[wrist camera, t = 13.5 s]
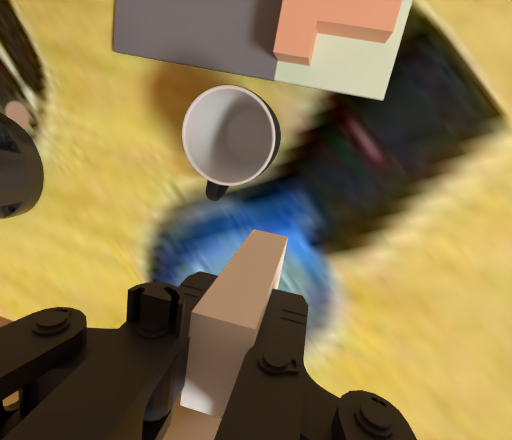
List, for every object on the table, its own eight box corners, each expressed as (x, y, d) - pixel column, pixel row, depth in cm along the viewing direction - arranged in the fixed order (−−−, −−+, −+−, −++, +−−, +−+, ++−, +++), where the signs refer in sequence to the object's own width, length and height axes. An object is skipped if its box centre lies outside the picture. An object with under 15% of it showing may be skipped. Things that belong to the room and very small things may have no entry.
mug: (232, 83, 37) (201, 66, 28) (301, 117, 37) (293, 111, 27) (196, 175, 41) (157, 188, 31) (257, 206, 40) (237, 229, 31)
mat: (117, 52, 39) (113, 50, 38) (124, -87, 35) (120, -92, 34) (381, 100, 34) (383, 99, 34) (426, -53, 30) (429, -58, 30)
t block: (278, 60, 35) (273, 52, 31) (299, -48, 32) (296, -72, 28) (375, 77, 33) (382, 70, 29) (406, -34, 30) (418, -58, 27)
